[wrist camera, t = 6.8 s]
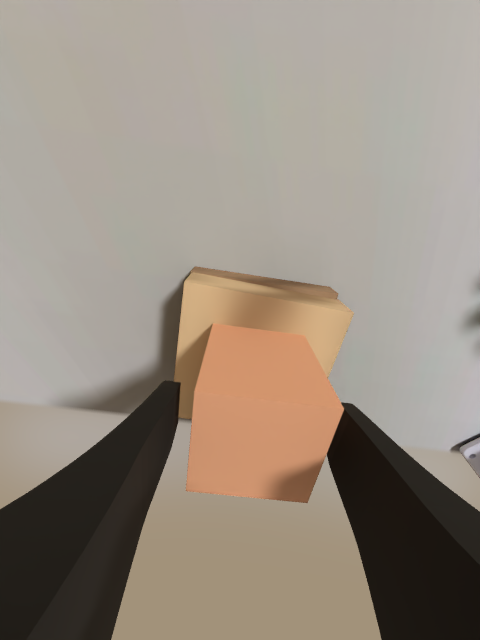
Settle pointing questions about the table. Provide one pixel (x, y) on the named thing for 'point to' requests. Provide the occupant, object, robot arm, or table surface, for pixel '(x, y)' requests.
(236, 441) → the block
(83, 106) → the table surface
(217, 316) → the tower top
